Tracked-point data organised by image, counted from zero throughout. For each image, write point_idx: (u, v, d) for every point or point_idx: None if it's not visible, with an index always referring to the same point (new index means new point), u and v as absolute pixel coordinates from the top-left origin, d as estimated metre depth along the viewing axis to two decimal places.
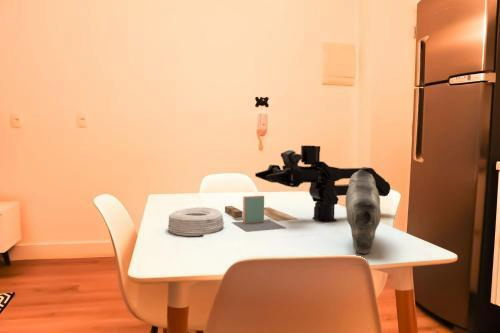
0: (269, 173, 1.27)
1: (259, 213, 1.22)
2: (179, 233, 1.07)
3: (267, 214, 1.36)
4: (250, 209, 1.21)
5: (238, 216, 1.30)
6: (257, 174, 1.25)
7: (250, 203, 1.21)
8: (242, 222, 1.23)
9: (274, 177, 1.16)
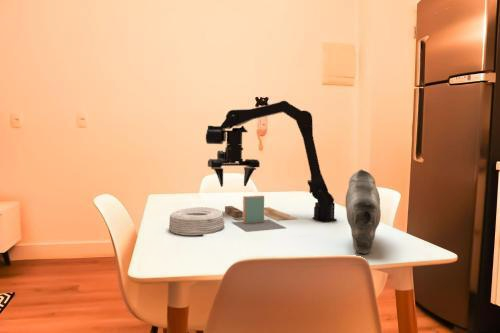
0: (245, 171, 1.37)
1: (259, 213, 1.22)
2: (180, 233, 1.07)
3: (267, 214, 1.36)
4: (250, 209, 1.21)
5: (238, 216, 1.30)
6: (244, 184, 1.37)
7: (250, 203, 1.21)
8: (242, 222, 1.23)
9: (219, 180, 1.33)
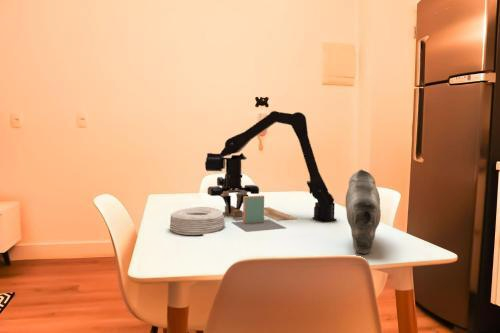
0: (238, 198, 1.37)
1: (259, 213, 1.22)
2: (181, 232, 1.08)
3: (267, 214, 1.36)
4: (250, 209, 1.21)
5: (238, 216, 1.30)
6: None
7: (250, 203, 1.21)
8: (242, 222, 1.23)
9: (227, 207, 1.35)
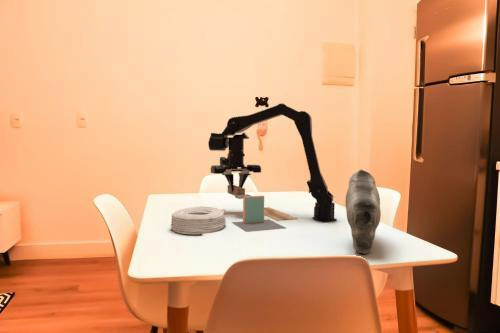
0: (240, 177, 1.40)
1: (259, 213, 1.22)
2: (182, 232, 1.08)
3: (267, 214, 1.36)
4: (250, 209, 1.21)
5: (241, 193, 1.33)
6: None
7: (250, 203, 1.21)
8: (242, 222, 1.23)
9: (230, 185, 1.38)
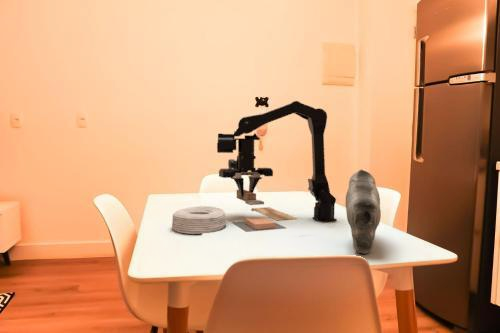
0: (250, 181, 1.30)
1: None
2: (183, 231, 1.09)
3: (267, 214, 1.36)
4: None
5: (251, 199, 1.24)
6: None
7: None
8: (242, 222, 1.23)
9: (239, 190, 1.28)
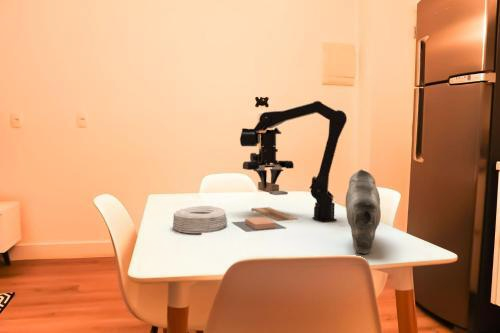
0: (272, 173, 1.36)
1: None
2: (184, 231, 1.10)
3: (267, 214, 1.36)
4: None
5: (275, 189, 1.30)
6: None
7: None
8: (242, 222, 1.23)
9: (262, 181, 1.35)
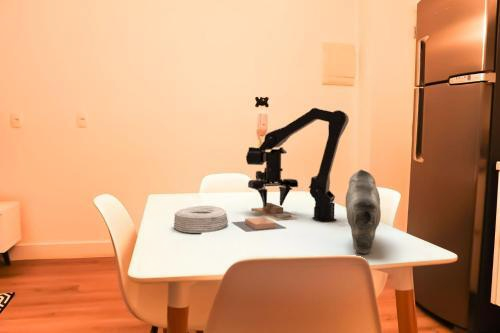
0: (281, 191, 1.40)
1: None
2: (184, 230, 1.10)
3: (267, 214, 1.36)
4: None
5: (279, 212, 1.33)
6: (280, 203, 1.40)
7: None
8: (242, 222, 1.23)
9: (263, 200, 1.37)
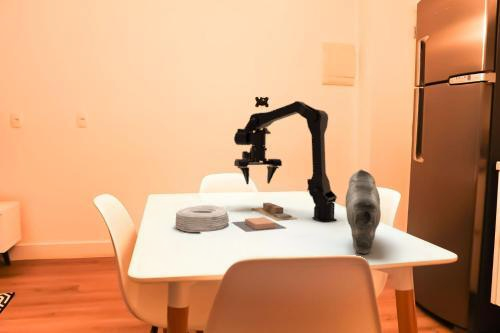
0: (269, 170, 1.48)
1: None
2: (186, 230, 1.11)
3: (267, 214, 1.36)
4: None
5: (279, 212, 1.33)
6: (267, 181, 1.48)
7: None
8: (242, 222, 1.23)
9: (245, 178, 1.44)
